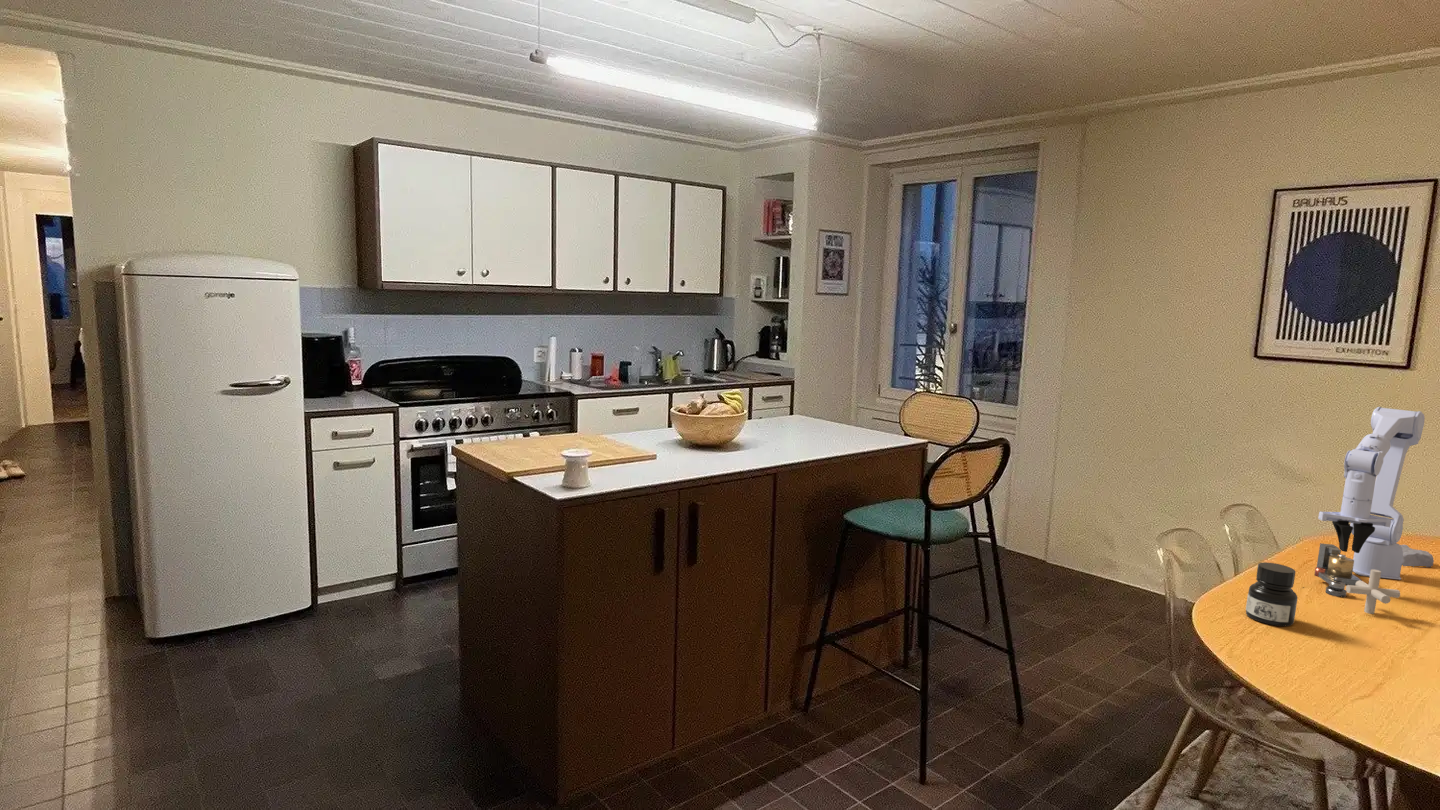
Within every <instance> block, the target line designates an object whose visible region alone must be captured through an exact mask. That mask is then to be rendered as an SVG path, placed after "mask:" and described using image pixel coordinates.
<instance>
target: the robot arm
mask: <svg viewBox="0 0 1440 810" xmlns="http://www.w3.org/2000/svg"><path fill="white" fill-rule="evenodd" d="M1425 419H1426V418H1425V414H1424V413H1423V411H1421V410H1418V411H1415V410H1414V411H1413V410H1407V409H1405V410H1404V409H1399V408H1398V409H1396V408H1389V407H1382V406H1377V407H1376V408H1374V410H1373V411H1372V414H1371V418H1370V427H1371V430H1372V433H1370V434H1369V433H1368V434H1366V435H1365V436H1364V437H1362V439H1361V440H1360V442H1359V443H1358V445H1357V446H1356V447H1355V448H1352V450H1347V452H1346V454H1345V455H1344V456H1345V457H1344V462H1343V469H1344V470H1343V471H1344V472H1343V477H1344V479H1345V480H1344V486H1343V487H1344V488H1343V494H1342V500H1341V507H1340V511H1319V513H1318V517H1317V518H1318V520H1320V521H1321V522H1322V521H1324V522H1331V523H1332V525H1333V527H1334V529H1335V533H1336V536H1337V538H1338V539H1337V540H1338V548H1339V550H1341V552H1344V553H1345V552H1346V553H1348V549H1349V542H1350V538H1351V534H1352V535H1353V538H1352V543H1351V551H1352V552H1354V553H1353V558H1352V559H1353V560H1354V566H1353V572H1354V573H1355V574H1356V575H1358V576H1363V577H1370V572H1371V569H1374V570H1379V571H1381V575H1380V579H1381V578H1382V579H1391V580H1398V581H1399V580H1402V577H1401V571H1402V567H1403V566H1402V560H1403V550H1402V547H1401V546H1400V545H1401V544H1399V543H1398V542H1400V540H1401V537H1402V535H1403V528H1404V527H1403V526H1404V520H1405V519H1404V516H1403V514H1402V513H1401V512H1400V511H1399V510H1397V508H1395V507H1394V502H1395V499H1396V495H1397V490H1398V487H1399V484H1400V478H1401V474H1402V471H1403V467H1404V463H1405V459H1406V456H1407V453H1408V452H1409V449H1410V447H1412V446H1415V445H1419V442H1420V441H1421V438H1422V434H1423V430H1424V427H1425ZM1353 572H1352V573H1353Z"/></svg>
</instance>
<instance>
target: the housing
mask: <svg viewBox="0 0 1440 810" xmlns="http://www.w3.org/2000/svg"><path fill="white" fill-rule="evenodd" d="M1353 566H1354V560H1353V558H1349V557H1347V556H1346V555H1345V554H1341V553H1340V554H1339V555H1338V556H1336V555H1331V556H1330V557H1329V564H1328V570H1327V572H1328V573H1329V574H1331V575H1334V576H1338V577H1344V578H1351V577H1352V574H1353Z"/></svg>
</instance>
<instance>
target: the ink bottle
mask: <svg viewBox="0 0 1440 810" xmlns="http://www.w3.org/2000/svg"><path fill="white" fill-rule="evenodd" d="M1295 578H1296V569H1294V568H1292V567H1290V566H1287V565H1284V564H1280V563H1274V562H1266V561H1265V562H1259V563H1257V571H1256V578H1255V579H1256V582H1255V583H1252V584H1250V585H1249V589H1248V593H1247V596H1246V597H1247V598H1246V599H1247V600H1246V605H1245V614H1246V616H1248V618H1250V619H1253V620H1254V621H1257V622H1259V623H1262V624H1267V625H1271V626H1276V627H1290V626H1292V625H1293V624H1294V623H1295V618H1296V612H1297V611H1296V610H1297V606H1298V605H1297V604H1298V595H1297V593H1296V592H1295V591H1294V590H1293V589H1292V588H1293V587H1294V585H1295Z"/></svg>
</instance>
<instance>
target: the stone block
mask: <svg viewBox="0 0 1440 810" xmlns="http://www.w3.org/2000/svg"><path fill="white" fill-rule="evenodd" d="M1399 545H1400V546H1401V547H1402V550H1403V560H1402V565H1403V566H1402V567H1406V566H1413V567H1412V568H1415V567H1414V566H1426V567H1425V568H1432V567H1433V565H1434V562H1435V561H1434V557H1433V556H1434V555H1433V554H1431V553H1430V552H1429V551H1426V550H1422V549H1414V548H1411V547H1409V546H1408V545H1407V544H1399ZM1431 566H1432V567H1431Z"/></svg>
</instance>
